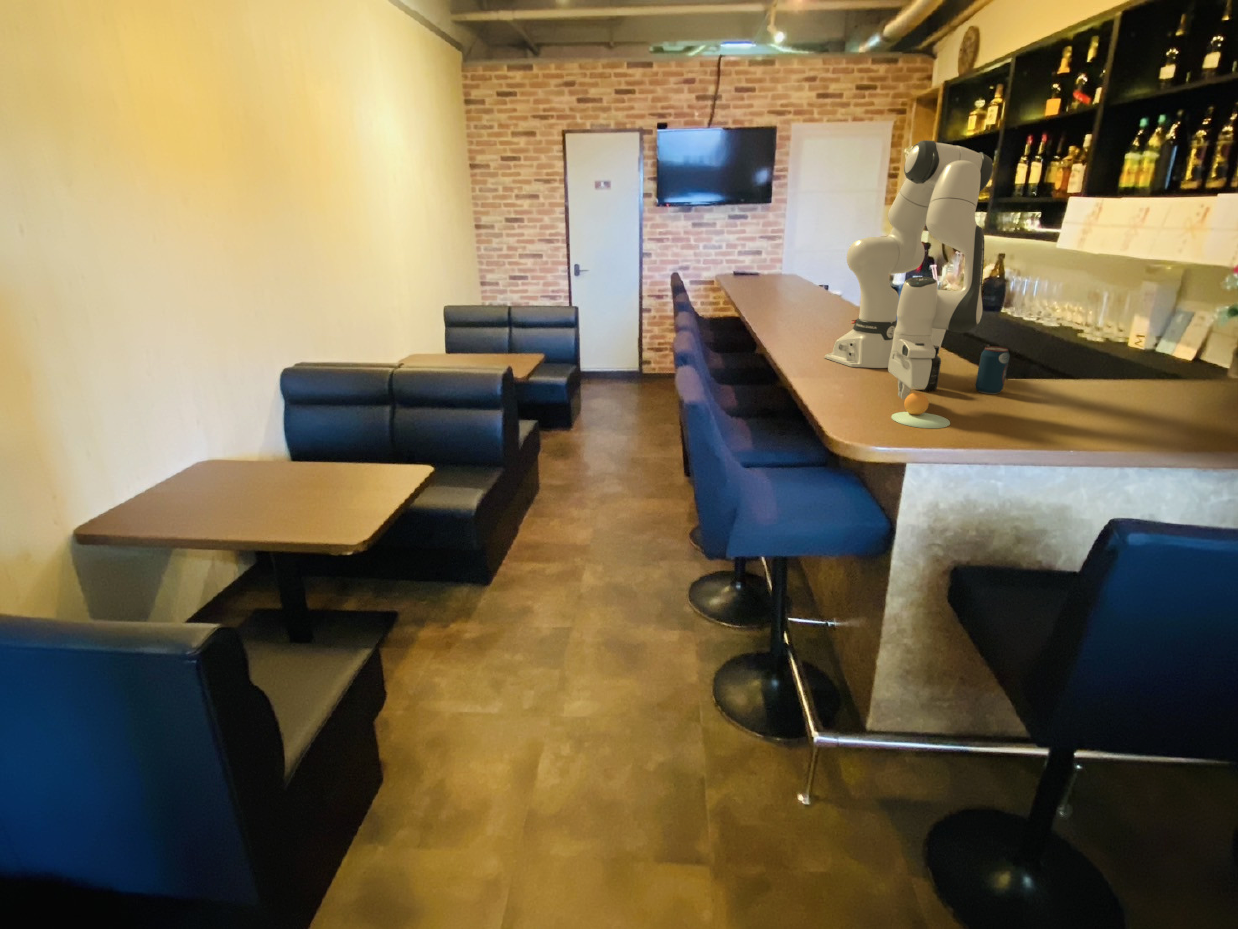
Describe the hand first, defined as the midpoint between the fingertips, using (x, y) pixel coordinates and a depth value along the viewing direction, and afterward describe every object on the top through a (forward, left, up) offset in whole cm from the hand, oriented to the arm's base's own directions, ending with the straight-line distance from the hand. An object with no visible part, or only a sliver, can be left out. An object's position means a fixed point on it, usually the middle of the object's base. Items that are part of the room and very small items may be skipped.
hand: (902, 398), depth 179 cm
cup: (-17, +28, -2) cm, 32 cm away
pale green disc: (+11, -8, -2) cm, 14 cm away
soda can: (+3, +32, -2) cm, 32 cm away
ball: (+8, -5, +1) cm, 9 cm away
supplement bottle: (-8, +19, -2) cm, 20 cm away
